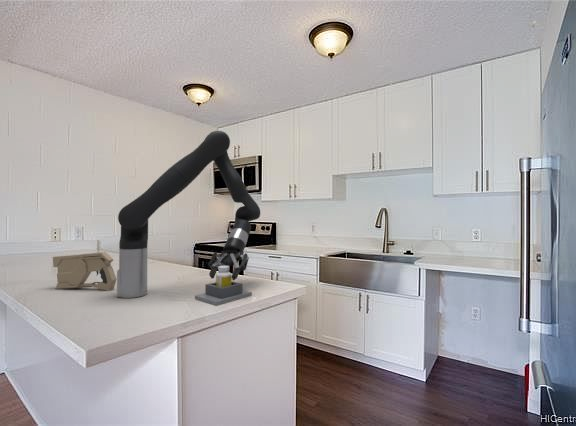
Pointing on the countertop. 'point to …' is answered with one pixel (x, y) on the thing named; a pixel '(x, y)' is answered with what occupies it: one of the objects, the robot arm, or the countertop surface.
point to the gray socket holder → (222, 293)
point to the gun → (84, 270)
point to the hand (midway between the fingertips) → (222, 278)
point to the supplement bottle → (223, 276)
